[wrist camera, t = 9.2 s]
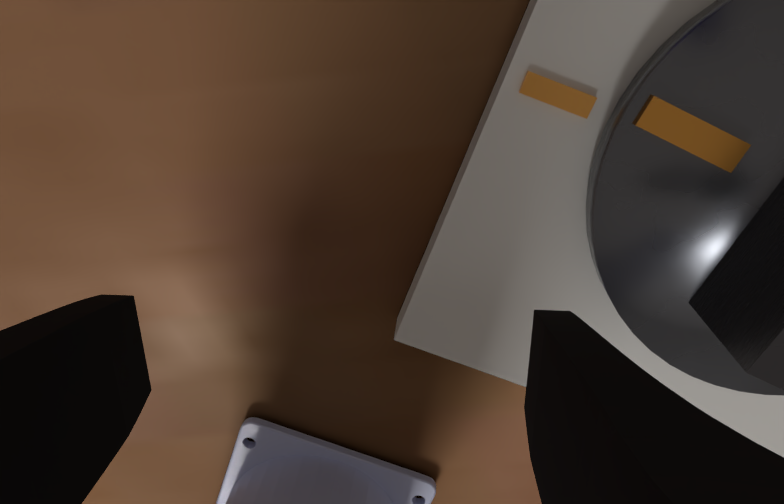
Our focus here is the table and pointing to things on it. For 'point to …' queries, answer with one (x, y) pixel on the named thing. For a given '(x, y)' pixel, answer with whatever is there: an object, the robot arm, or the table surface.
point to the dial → (700, 199)
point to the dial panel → (550, 207)
